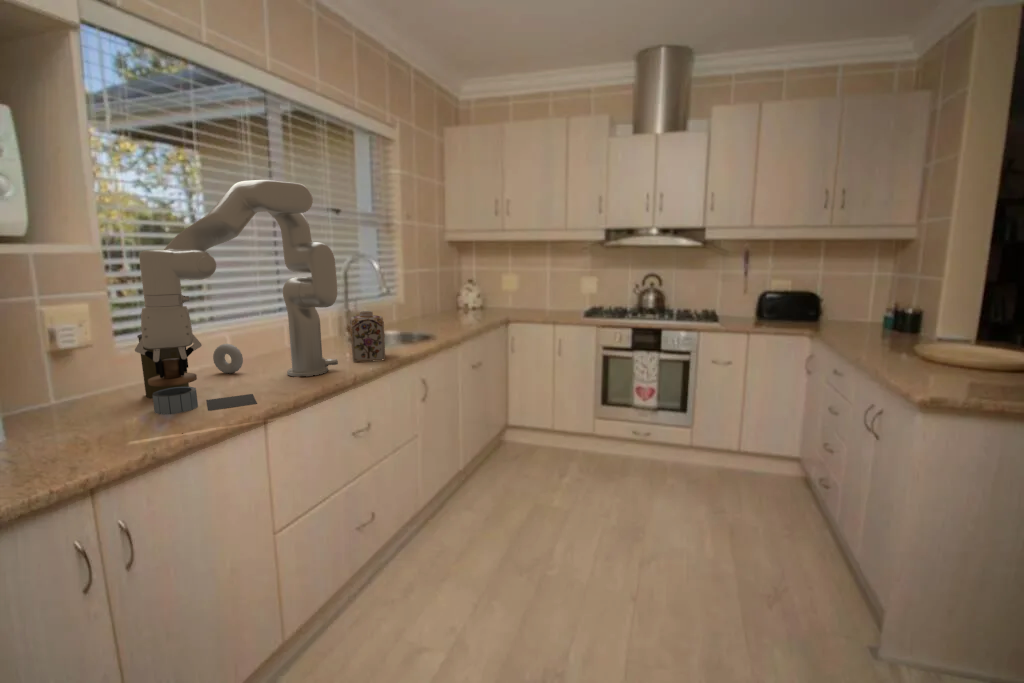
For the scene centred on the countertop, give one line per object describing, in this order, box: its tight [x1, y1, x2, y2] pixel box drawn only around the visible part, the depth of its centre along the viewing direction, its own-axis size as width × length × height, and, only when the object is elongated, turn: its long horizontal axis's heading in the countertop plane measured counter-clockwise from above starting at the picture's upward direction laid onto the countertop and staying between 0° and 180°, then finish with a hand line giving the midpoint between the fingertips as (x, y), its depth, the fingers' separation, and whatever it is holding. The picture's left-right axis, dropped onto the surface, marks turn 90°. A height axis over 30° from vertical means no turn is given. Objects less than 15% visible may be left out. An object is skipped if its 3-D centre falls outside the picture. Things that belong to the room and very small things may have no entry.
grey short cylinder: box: [152, 386, 199, 415], centre depth 124 cm, size 9×9×5 cm
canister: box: [137, 333, 190, 399], centre depth 136 cm, size 11×10×20 cm
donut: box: [212, 343, 244, 374], centre depth 162 cm, size 10×4×10 cm, turn 81°
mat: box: [206, 393, 258, 412], centre depth 130 cm, size 11×11×1 cm
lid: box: [148, 358, 198, 386], centre depth 122 cm, size 10×10×6 cm
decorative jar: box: [349, 310, 386, 363], centre depth 186 cm, size 12×12×18 cm
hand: (172, 374), depth 123 cm, fingers closed on lid, 3 cm apart
